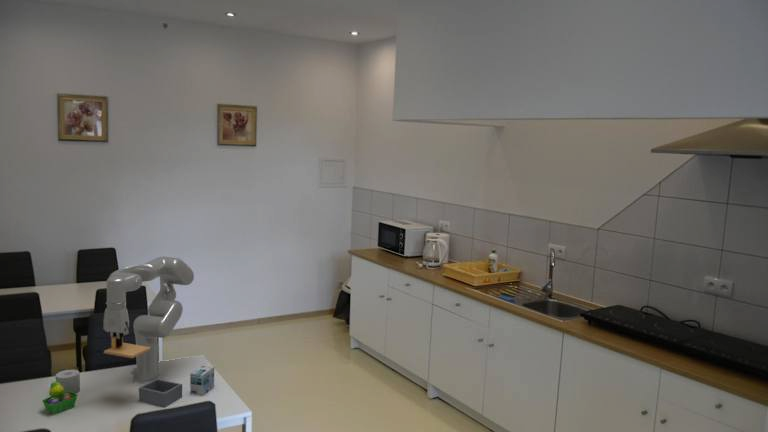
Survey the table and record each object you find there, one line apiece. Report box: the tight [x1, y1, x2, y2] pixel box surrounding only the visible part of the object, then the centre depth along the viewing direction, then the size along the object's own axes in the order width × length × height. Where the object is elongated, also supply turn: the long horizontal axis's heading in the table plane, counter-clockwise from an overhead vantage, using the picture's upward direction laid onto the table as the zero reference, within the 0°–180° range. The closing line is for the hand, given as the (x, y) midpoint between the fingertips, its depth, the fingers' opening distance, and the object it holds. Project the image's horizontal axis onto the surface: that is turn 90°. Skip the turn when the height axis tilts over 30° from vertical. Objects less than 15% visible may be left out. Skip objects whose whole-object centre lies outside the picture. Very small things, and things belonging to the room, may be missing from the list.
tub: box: [138, 378, 183, 408], centre depth 254 cm, size 14×11×7 cm
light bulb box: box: [189, 364, 215, 397], centre depth 264 cm, size 11×7×11 cm, turn 168°
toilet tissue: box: [55, 369, 81, 395], centre depth 261 cm, size 9×13×9 cm
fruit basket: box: [42, 381, 78, 415], centre depth 243 cm, size 11×9×11 cm
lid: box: [103, 336, 151, 359], centre depth 250 cm, size 15×12×7 cm
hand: (117, 346), depth 252 cm, fingers closed on lid, 1 cm apart
